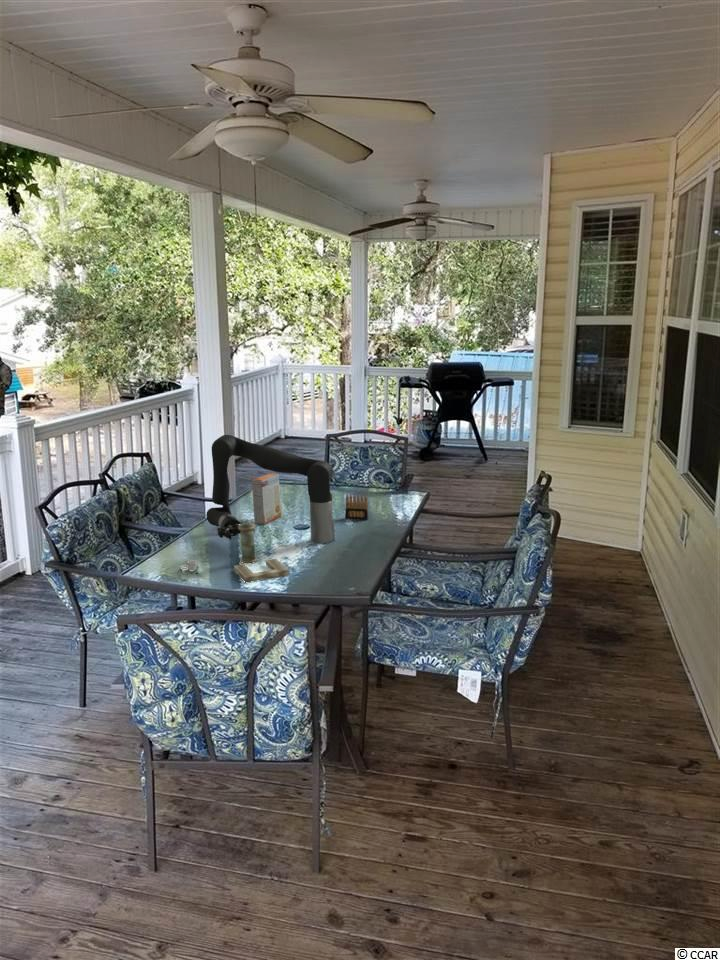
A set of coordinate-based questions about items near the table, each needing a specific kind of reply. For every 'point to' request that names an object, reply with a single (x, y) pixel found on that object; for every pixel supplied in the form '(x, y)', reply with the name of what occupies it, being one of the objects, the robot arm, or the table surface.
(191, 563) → the white curved piece
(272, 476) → the cracker box
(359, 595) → the table surface
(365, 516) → the ammunition clip
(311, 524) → the robot arm
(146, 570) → the table surface
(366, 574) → the table surface
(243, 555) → the bobbin
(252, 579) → the tan u-shaped bracket
